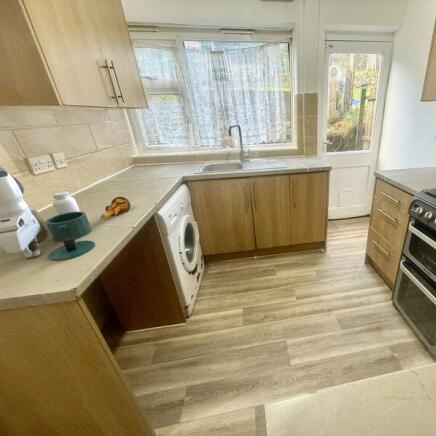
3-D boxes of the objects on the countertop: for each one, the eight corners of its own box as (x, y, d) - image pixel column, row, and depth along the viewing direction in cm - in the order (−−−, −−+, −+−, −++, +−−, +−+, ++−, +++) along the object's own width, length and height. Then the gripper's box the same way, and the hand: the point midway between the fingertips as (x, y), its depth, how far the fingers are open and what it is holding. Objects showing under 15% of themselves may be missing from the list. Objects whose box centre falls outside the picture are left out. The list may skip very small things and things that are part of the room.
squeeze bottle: (57, 235, 105) (36, 196, 97) (34, 245, 98) (10, 203, 90) (45, 233, 107) (24, 194, 100) (22, 242, 100) (-2, 201, 93)
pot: (48, 248, 95) (38, 228, 92) (60, 230, 110) (52, 213, 106) (88, 240, 101) (80, 221, 97) (94, 224, 115) (88, 207, 112)
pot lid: (44, 266, 84) (36, 252, 82) (55, 248, 95) (49, 235, 92) (92, 255, 90) (87, 241, 88) (98, 240, 101) (93, 227, 98)
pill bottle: (86, 221, 119) (73, 191, 112) (66, 227, 112) (51, 197, 106) (80, 218, 123) (67, 189, 116) (60, 224, 116) (45, 194, 110)
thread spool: (24, 260, 87) (17, 248, 85) (28, 255, 91) (22, 243, 89) (40, 257, 89) (34, 244, 87) (44, 251, 93) (38, 239, 91)
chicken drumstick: (136, 199, 132) (119, 199, 115) (131, 218, 133) (113, 222, 115) (118, 194, 131) (98, 194, 113) (113, 214, 131) (92, 217, 113)
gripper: (14, 210, 91) (31, 242, 96) (-14, 231, 74) (8, 268, 80) (37, 206, 94) (52, 238, 99) (14, 226, 77) (34, 262, 83)
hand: (32, 252), depth 89 cm, fingers open, 5 cm apart
